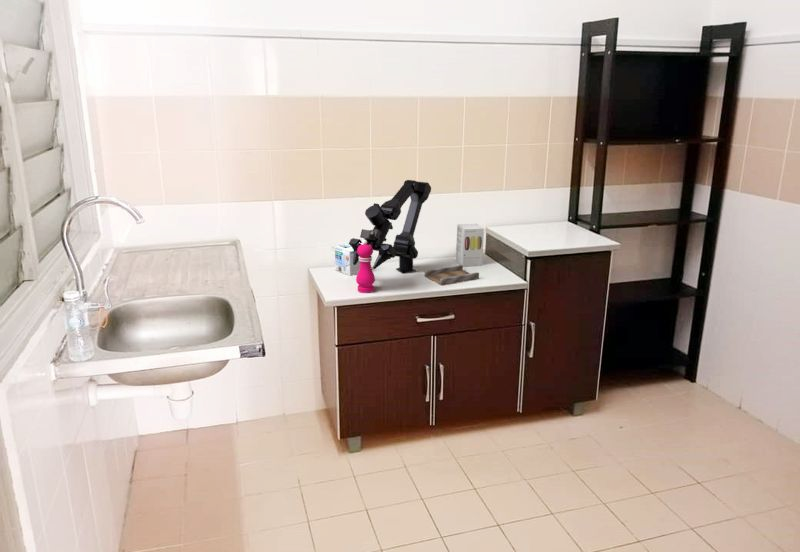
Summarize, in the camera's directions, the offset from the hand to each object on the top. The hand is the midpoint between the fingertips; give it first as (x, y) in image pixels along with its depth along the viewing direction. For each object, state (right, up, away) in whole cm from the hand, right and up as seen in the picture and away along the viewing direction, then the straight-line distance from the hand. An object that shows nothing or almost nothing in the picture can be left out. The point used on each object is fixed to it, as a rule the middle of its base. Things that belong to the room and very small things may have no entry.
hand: (363, 266), depth 236 cm
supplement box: (+44, +2, +39) cm, 59 cm away
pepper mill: (+1, -9, +4) cm, 10 cm away
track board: (+35, -4, +20) cm, 40 cm away
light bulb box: (-8, -2, +27) cm, 28 cm away
